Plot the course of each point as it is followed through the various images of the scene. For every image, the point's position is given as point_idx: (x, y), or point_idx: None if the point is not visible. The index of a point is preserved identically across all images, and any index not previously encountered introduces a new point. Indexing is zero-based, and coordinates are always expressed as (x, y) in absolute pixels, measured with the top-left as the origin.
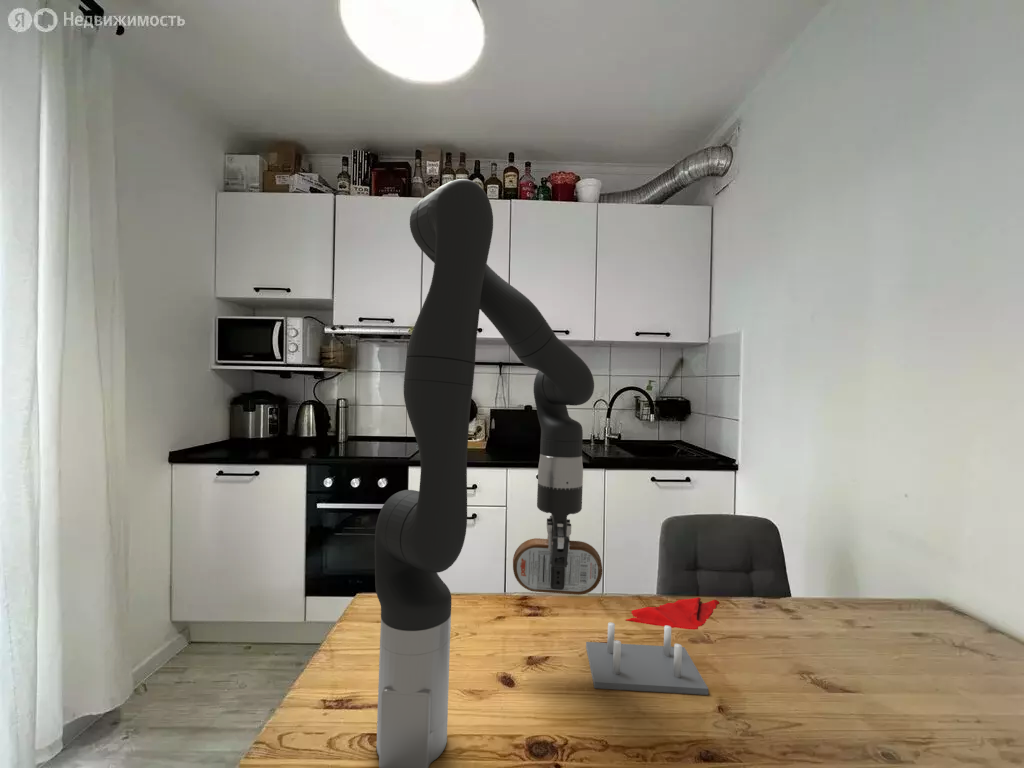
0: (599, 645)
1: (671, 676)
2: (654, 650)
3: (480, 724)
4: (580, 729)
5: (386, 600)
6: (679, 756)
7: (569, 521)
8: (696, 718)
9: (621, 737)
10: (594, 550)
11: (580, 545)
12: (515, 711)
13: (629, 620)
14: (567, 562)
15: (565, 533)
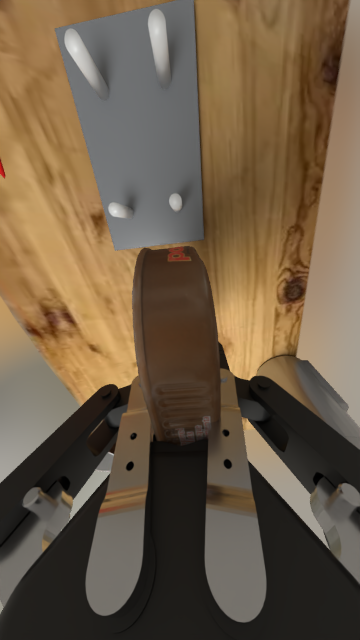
0: (117, 230)
1: (169, 95)
2: (96, 121)
3: (262, 338)
4: (271, 255)
5: None
6: (326, 123)
7: (132, 596)
8: (255, 66)
9: (286, 207)
10: (156, 304)
11: (197, 386)
12: (246, 316)
13: (1, 167)
14: (268, 386)
15: (330, 552)
